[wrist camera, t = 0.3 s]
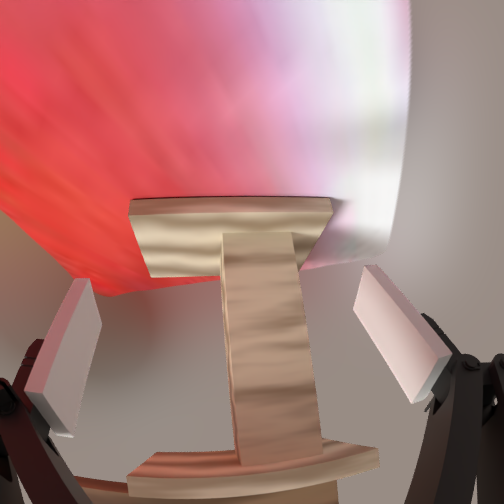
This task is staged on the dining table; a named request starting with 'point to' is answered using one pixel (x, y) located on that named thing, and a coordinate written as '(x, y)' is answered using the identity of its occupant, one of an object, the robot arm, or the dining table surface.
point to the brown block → (295, 500)
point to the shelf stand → (248, 344)
